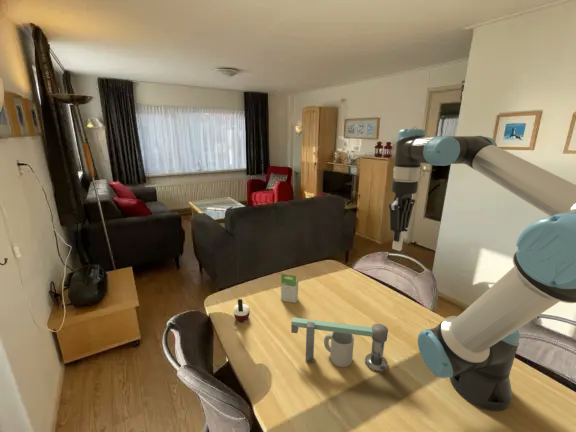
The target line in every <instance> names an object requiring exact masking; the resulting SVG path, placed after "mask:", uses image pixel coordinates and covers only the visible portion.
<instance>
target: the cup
mask: <svg viewBox="0 0 576 432" xmlns="http://www.w3.org/2000/svg"><path fill="white" fill-rule="evenodd" d="M329 341H330V343H329ZM354 341H355V336H354V334H347V333H339V332H332V333H328V334H326V335H325V336H324V338H323V345H324V348H325V349H326V350H327V351H328V352H329V353H330V355H329V358H330V361H331V362H332V363H333V364H334V365H335V366H336V367H339V368H347V367H349V366H351V364H352V362H353V357H354V356H353V355H354V343H355V342H354Z"/></svg>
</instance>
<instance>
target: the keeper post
mask: <svg viewBox="0 0 576 432" xmlns="http://www.w3.org/2000/svg"><path fill="white" fill-rule="evenodd" d="M305 329H306V330H305V331H306V333H305V334H306V335H305V336H306V337H305V362H306V363H307V362H308V363H314V356H315V355H314V353H315V352H314V351H315V334H316V333H315V331H316V329H315V323H313V322H307V328H305Z"/></svg>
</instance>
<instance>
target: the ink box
mask: <svg viewBox="0 0 576 432" xmlns="http://www.w3.org/2000/svg"><path fill="white" fill-rule="evenodd" d="M280 275H281V277H280V279H281V281H280V301H283V302H288V303H294V304H295V303H297V301H298V299H299V279H298V278H297V275H293V274H286V273H281V274H280Z"/></svg>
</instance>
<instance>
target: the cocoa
mask: <svg viewBox="0 0 576 432" xmlns="http://www.w3.org/2000/svg"><path fill="white" fill-rule="evenodd" d="M250 312H251V311H250V306H248V305H247V303H246V304H245V303H243V299H242V298H241V299H237V304H235V305H234V307H233V316H234V320H236V321H237V322H240V323H242V322H244V323H245V322H246V321H247V320H248V319H249V317H250Z"/></svg>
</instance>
